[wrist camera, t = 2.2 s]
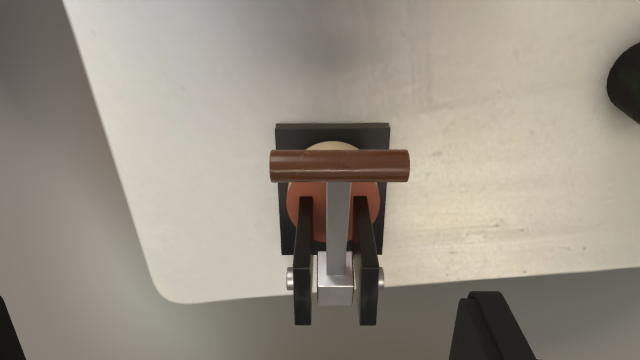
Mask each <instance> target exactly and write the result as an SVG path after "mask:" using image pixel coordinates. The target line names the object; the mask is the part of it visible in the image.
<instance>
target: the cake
mask: <svg viewBox="0 0 640 360" xmlns="http://www.w3.org/2000/svg"><path fill="white" fill-rule="evenodd" d="M306 150H359V149H358V148H356V147H354V146H352V145H350V144H347V143H344V142H338V141H327V142H321V143H318V144H315V145H313V146H311V147H309V148H307V149H306ZM326 188H327V182H289V185H288V192H287V200H286V204H287V211H288V214H289V217H290V219H291V221H292V223H293V224H294V225H295V227H296V228H297V217H298V207H299V197H300V196H313V234H314V240H317V241H320V242H325V243H326ZM354 196H367V200H368V205H369V211H370V217H371V222H372V224H373V222H374V221H375V219H376V217H377V215H378V212H379V208H380V195H379V191H378V186H377V182H351V194H350V208H349V222H348V236H347V241H349V240H352V230H353V197H354Z"/></svg>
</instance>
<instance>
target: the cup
mask: <svg viewBox="0 0 640 360" xmlns="http://www.w3.org/2000/svg"><path fill="white" fill-rule="evenodd" d="M607 92H608V96H609V98H610V100H611V102H612V103H613V104H614V105H615V106H616V107H618V108H619V109H620V110H622V111H623V112H624V113H625V114H627V115H628V116H629V117H631V118H632V119H633V120H635V121H636V122H637V123H638V124H640V43H638V44H636V45H634V46H632V47H631V48H629V49H628V50H627V51H625V52H624V53H623V54H622V55H621V56H620V57H619V58H618V59H617V60H616V62H615V63H614V65H613V67H612V68H611V70H610V73H609V76H608V79H607Z"/></svg>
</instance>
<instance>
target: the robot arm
mask: <svg viewBox="0 0 640 360" xmlns="http://www.w3.org/2000/svg"><path fill="white" fill-rule="evenodd" d="M0 360H26V358H25V356H24V353H23V350H22V348H21V345H20V342H19V340H18V337H17V335H16V332H15V329H14V326H13V324H12V321H11V319H10V316H9V313H8V311H7V308H6V305H5V303H4V300H3V298H2V297H1V296H0ZM449 360H537V359H536V358H535V356H534V354H533V352H532V350H531V348H530V346H529V344H528V342H527V340H526V339H525V337H524V335H523V333H522V331H521V329H520V327H519V325H518V323H517V321H516V320H515V318H514V316H513V314H512V312H511V310H510V308H509V306H508V304H507V302H506V301H505V299H504V297H503V295H502V294H501V293H500V292H498V291H496V292H495V291H472V292H470V293H469V294H468V298H467V299H466V298H462V299H460V301H459V305H458V310H457V316H456V322H455V327H454V333H453V339H452V344H451V350H450V356H449Z"/></svg>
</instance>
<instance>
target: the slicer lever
mask: <svg viewBox="0 0 640 360" xmlns="http://www.w3.org/2000/svg"><path fill="white" fill-rule="evenodd" d="M409 172H410V159H409V153H408V150H271V153H270V179H271V182H273V183H284V182H327V188H326V251H319V252H318V253H317V295H318V296H317V298H318V305H352V302H353V293H354V269H353V252H352V251H346V250H347V236H348V222H349V208H350V194H351V182H407V181H408V179H409Z"/></svg>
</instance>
